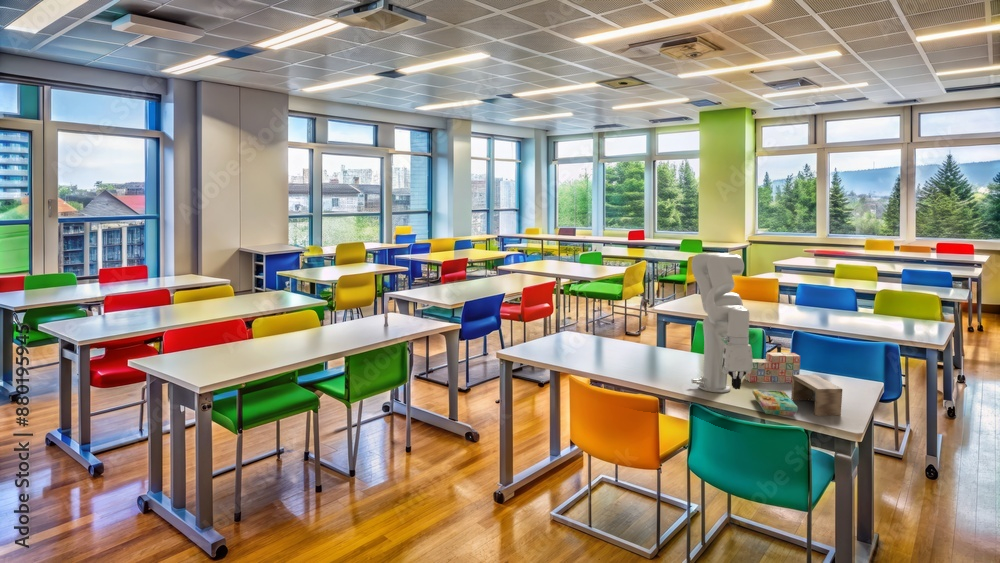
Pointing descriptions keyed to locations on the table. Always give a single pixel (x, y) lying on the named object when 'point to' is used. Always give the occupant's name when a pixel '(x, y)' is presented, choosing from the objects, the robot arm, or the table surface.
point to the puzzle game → (775, 402)
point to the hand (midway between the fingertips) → (736, 388)
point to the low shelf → (817, 393)
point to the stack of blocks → (775, 368)
